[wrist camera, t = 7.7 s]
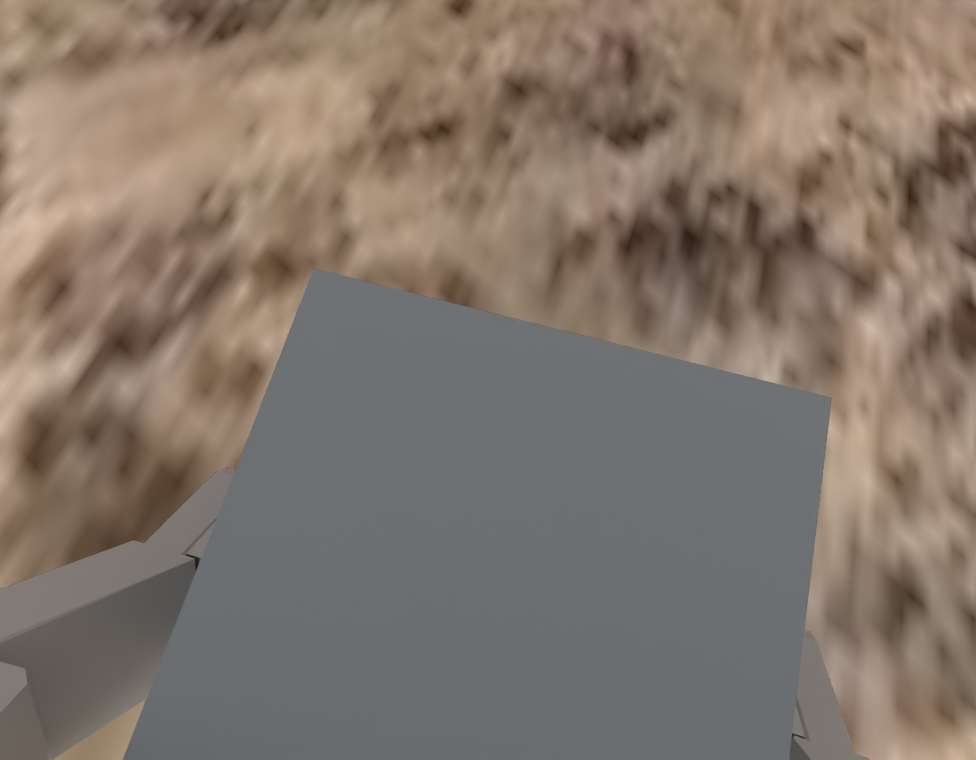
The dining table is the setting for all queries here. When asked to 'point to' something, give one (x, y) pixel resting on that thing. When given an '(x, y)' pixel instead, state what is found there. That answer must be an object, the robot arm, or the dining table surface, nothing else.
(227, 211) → the dining table surface
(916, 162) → the dining table surface
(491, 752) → the slate block
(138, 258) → the dining table surface
